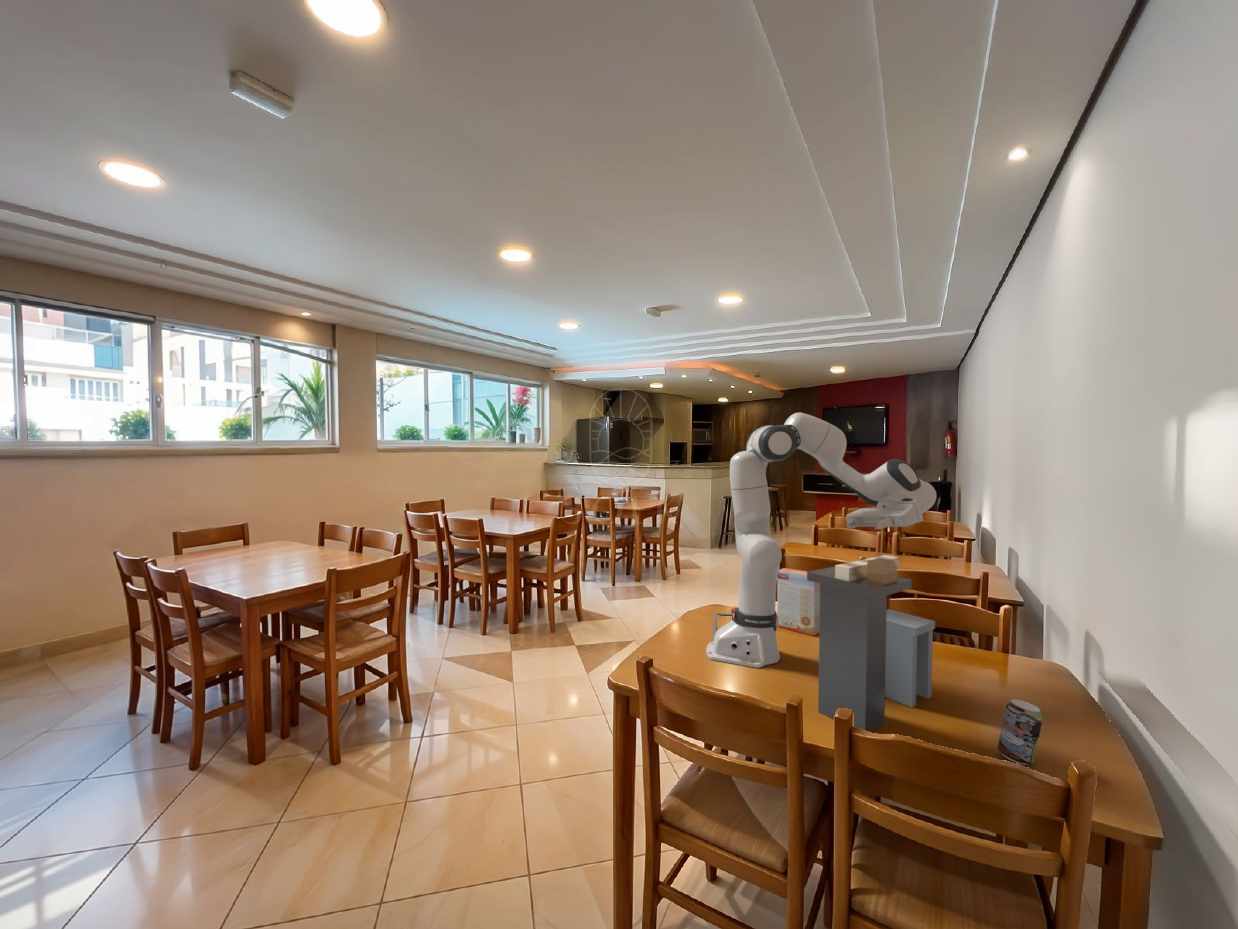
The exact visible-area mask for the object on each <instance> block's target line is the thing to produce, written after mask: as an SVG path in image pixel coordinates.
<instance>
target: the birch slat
mask: <svg viewBox="0 0 1238 929" xmlns="http://www.w3.org/2000/svg"><path fill="white" fill-rule="evenodd" d="M878 558H882V559H887V560H893V561H895V571H897V570H899V569H900V556H895V555H888V554H883V555H879V556H874V557H869V558H864V559H859V560H855V561H850V562H845V563H840V564H835V565H834V566H835V578H837V579H841V580H846V581H852V580H856V579H860V578H864V577H867V567H868V560H873V559H878Z"/></svg>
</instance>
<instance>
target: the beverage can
mask: <svg viewBox="0 0 1238 929" xmlns="http://www.w3.org/2000/svg"><path fill="white" fill-rule="evenodd" d="M1043 719H1044V718H1043V715H1042V713H1041V708H1039V707H1038V706H1036V705H1035V704H1033V703H1030V702H1029V701H1025V700H1023V699H1017V698H1011V699H1010V701H1009V702H1007V703H1006V704H1005V709H1004V713H1003V719H1002V723H1001V728H1000V729H1001V730H1000V734H999V740H998V744H997V749H998V751H999V752H1000V754H1001V755H1002V756H1003V757H1004V758H1005V759H1007V760H1009V761H1011V762H1013V763H1015V762H1016V764H1018V763H1021V764H1020V765H1022V764H1023V765H1022V766H1028V765H1033V764H1034V763H1035V759H1036V754H1037V748H1038V743H1039V738H1040V733H1041V728H1042V725H1043Z"/></svg>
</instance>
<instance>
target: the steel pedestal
mask: <svg viewBox="0 0 1238 929" xmlns="http://www.w3.org/2000/svg"><path fill="white" fill-rule="evenodd" d="M806 572H807V580H808V581H812V582H816V583H820V632H819V633H818V634H819V640H818V642H819V643H818V644H819V645H818V646H819V647H818V649H819V650H818V704H817V707H818V709H817V712H818V713H820V714H821V715H823V714H824V716H825V715H827V716H829V717H828V718H830V719H832V720H834V719H833V718H834V715H835V712H836V710H837V709H838V708H848V709H851V710H852V712H853V713H854V727H856V728H859V729H862V730H866V731H871V732H873V731H875V730H876V729H879V728H880V727H882V726H884V725H885V719H886V718H885V715H886V714H885V712H886V711H885V708H886V707H885V705H886V704H885V703H886V701H885V700H886V697H885V665H886V612H887V610H888V609H887V608H888V607H887V606H888V605H887V602H888V601H887V600H888V599H887V598H888V596H890V595H893V594H896V593H899V592H903V591H907V590H910V589H912V579H911V578H910V579H909V578H905V577H901V576H898V571H897V570H895V561H893V560H887V559H882V558H878V559H873V560H868V567H867V577H864V578H860V579H856V580H852V581H846V580H841V579H837V578H835V565H834V566H830V567H826V568H821V569H816V570H810V571H806ZM827 716H826V717H827Z"/></svg>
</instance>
